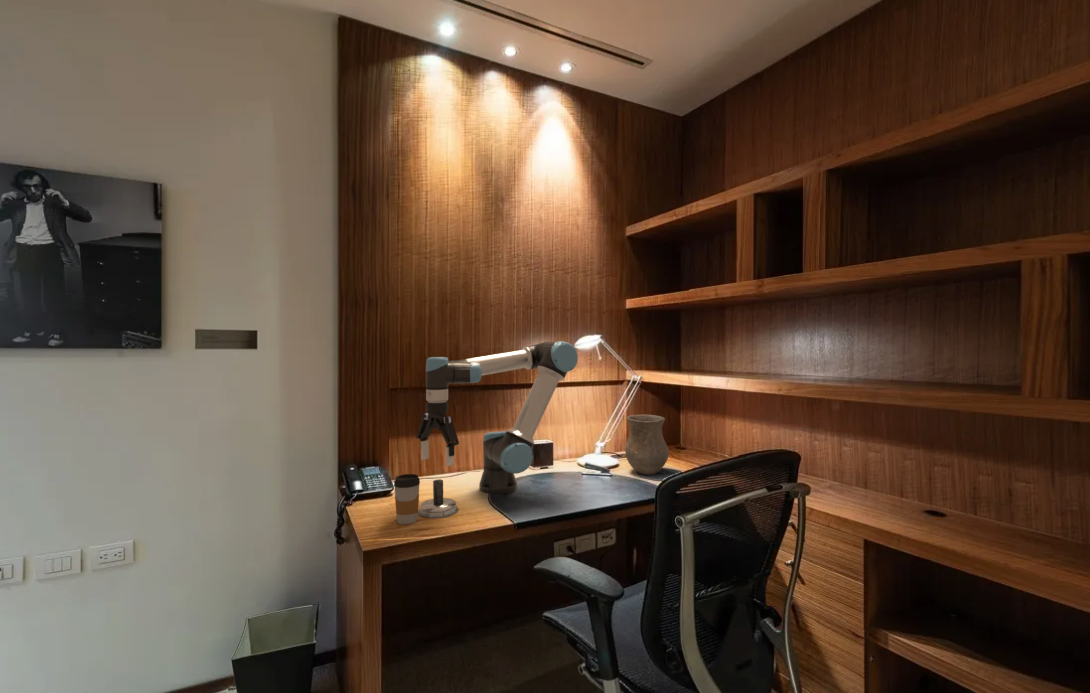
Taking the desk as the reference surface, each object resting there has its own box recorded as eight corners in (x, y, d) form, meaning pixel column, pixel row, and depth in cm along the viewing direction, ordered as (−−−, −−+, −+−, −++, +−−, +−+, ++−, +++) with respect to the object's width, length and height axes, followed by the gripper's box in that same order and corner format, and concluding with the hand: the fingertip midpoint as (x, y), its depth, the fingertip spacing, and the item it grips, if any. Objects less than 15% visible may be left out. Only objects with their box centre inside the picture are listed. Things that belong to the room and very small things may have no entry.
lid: (457, 504, 168) (456, 475, 168) (454, 516, 156) (454, 485, 156) (423, 505, 167) (423, 476, 167) (418, 518, 155) (417, 486, 155)
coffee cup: (397, 518, 156) (396, 473, 156) (422, 517, 157) (422, 473, 157) (391, 527, 148) (390, 481, 148) (417, 526, 149) (417, 480, 149)
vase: (678, 475, 203) (677, 418, 203) (641, 480, 196) (641, 422, 195) (651, 464, 221) (650, 412, 221) (616, 469, 214) (616, 415, 214)
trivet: (460, 504, 169) (460, 502, 169) (457, 518, 155) (457, 517, 155) (421, 506, 168) (421, 504, 168) (414, 520, 154) (414, 519, 154)
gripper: (406, 399, 166) (406, 458, 166) (452, 405, 150) (452, 470, 150) (423, 397, 172) (423, 454, 172) (469, 403, 156) (469, 465, 156)
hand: (437, 462), depth 161 cm, fingers open, 13 cm apart
